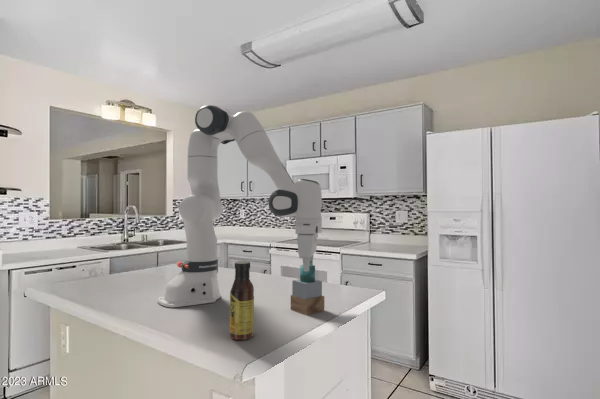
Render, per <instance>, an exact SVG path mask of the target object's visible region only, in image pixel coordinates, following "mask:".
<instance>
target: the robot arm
mask: <svg viewBox="0 0 600 399" xmlns="http://www.w3.org/2000/svg"><path fill="white" fill-rule="evenodd" d="M194 123H195V126H196V129H194V130H193V131H192V132H191V133H190V135H189V139H188V145H187V168H186V170H187V180H188V182H189V183H188V184H189V186H190V189H191V194H190V195H187V196H186V197H184V198H183V199H182V200H181V202H180V203H179V208H178V212H179V215H180V217H181V218H182V222H183V225H184V227H183V228H184V231H185V232H184V233H185V238H186V260H185V261H184V262H182V261H177V263H176V266H177V267H178V268H181V271H180V272H179V273H178V274H177V275H175V276H174V277H173V278H172V279H170V280H169V281H168V282H167V283H166V284H165V287H164V293H163V296H159V297H158V298H157V303H158V304H159V305H161V306H162V307H166V308H180V307H187V306H195V305H202V304H203V305H205V304H211V303H212V304H213V303H216V301H217V300H218V299H220V298H221V297H222V296H221V292H220V287H219V280H218V271H219V261H218V260H219V259H218V238H217V236H216V231H215V227H214V222H215V221H216V220H218V219H219V217H220V216H221V215H222V213H223V205H222V202H221V193H220V187H219V180H218V178H219V177H218V176H219V175H218V148H219V145H220V144H223V145H226V144H229V143H231V142H234V141H235V142H236V144H237V146H238V148H239V150H240V152H241V154H242V155H243V158H244V159H246V160H247V162H248V163H250V164H252V165H253V166H255V167H257V168H259V169H260V170H262V171H264V172H265V173H266V174H267V175H268V176H269V177H270V178H271V180H272V181H273V183H274V185H275V187H276V188H277V190H275V191H273V192H272V193H271V194H270V196H269V198H268V208H269V210H270V212H271V213H272V214H273V215H274V216H277V217H279V218H295V229H294V231H295V234H296V235H297V237H296V238H297V251H298V252H297V253H298V256H299V259H302V265H303V270H304V271H306V272H308V271H309V268H310V265H314V262H313V261H314V254H315V253H316V252H317V238H318V237H319V234H321V233H322V232H323V228H322V227H323V224H322V223H323V219H322V217H323V216H322V213H321V211H322V205H323V198H322V197H323V196H322V187H321V184H320V183H319V182H318V181H315V180H313V179H306V178H299V179H297V180H296V181H295V182H294V181H293V180H292V177H291V175H290V174H289V172H288V171H287V169H286V168H285V166H284V164H283V163H282V161H281V159H280V157H279V155H278V154H277V152H276V150H275V148H274V145H273V144H272V142H271V139H270V137H269V135H268V134H267V132H266V130H265V128H264V127H263V125H262V124H261V122H260V121H259V120H258V118H257V117H256V115H254V114H253V113H252V112H251V111H248V110H242V111H239V112H237V113H236V114H234V113H233V112H232V111H230V110H228V109H224V108H221V107H219V106H217V105H212V104H205V105H203V106H201V107H200V108H198V110H197V111H196V113H195V116H194Z"/></svg>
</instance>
